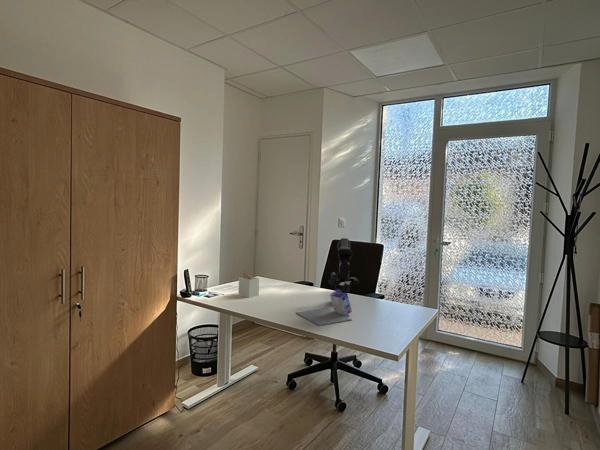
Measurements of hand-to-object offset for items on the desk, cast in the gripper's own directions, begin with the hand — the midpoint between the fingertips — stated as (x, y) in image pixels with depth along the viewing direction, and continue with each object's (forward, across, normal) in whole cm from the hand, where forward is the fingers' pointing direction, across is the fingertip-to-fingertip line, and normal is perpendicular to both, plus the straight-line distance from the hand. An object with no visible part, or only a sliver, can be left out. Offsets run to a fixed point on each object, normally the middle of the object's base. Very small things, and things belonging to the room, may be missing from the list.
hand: (343, 295), depth 208 cm
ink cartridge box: (+10, -1, 0) cm, 10 cm away
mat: (+11, +14, 0) cm, 17 cm away
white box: (+11, +33, -62) cm, 71 cm away
